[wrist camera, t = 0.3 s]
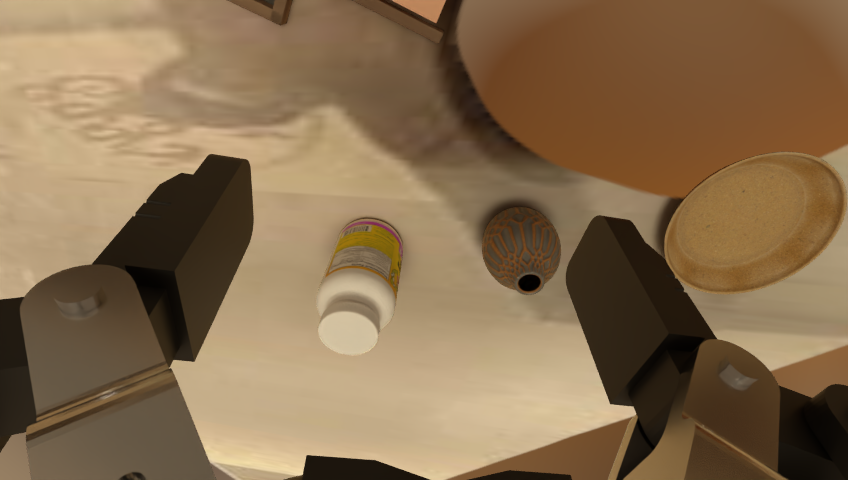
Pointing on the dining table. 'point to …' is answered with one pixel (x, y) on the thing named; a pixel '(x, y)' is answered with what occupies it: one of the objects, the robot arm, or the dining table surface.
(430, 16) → the terracotta block
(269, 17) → the trap lane
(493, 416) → the dining table surface
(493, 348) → the dining table surface
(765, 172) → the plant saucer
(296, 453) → the dining table surface
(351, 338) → the supplement bottle
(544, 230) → the vase
